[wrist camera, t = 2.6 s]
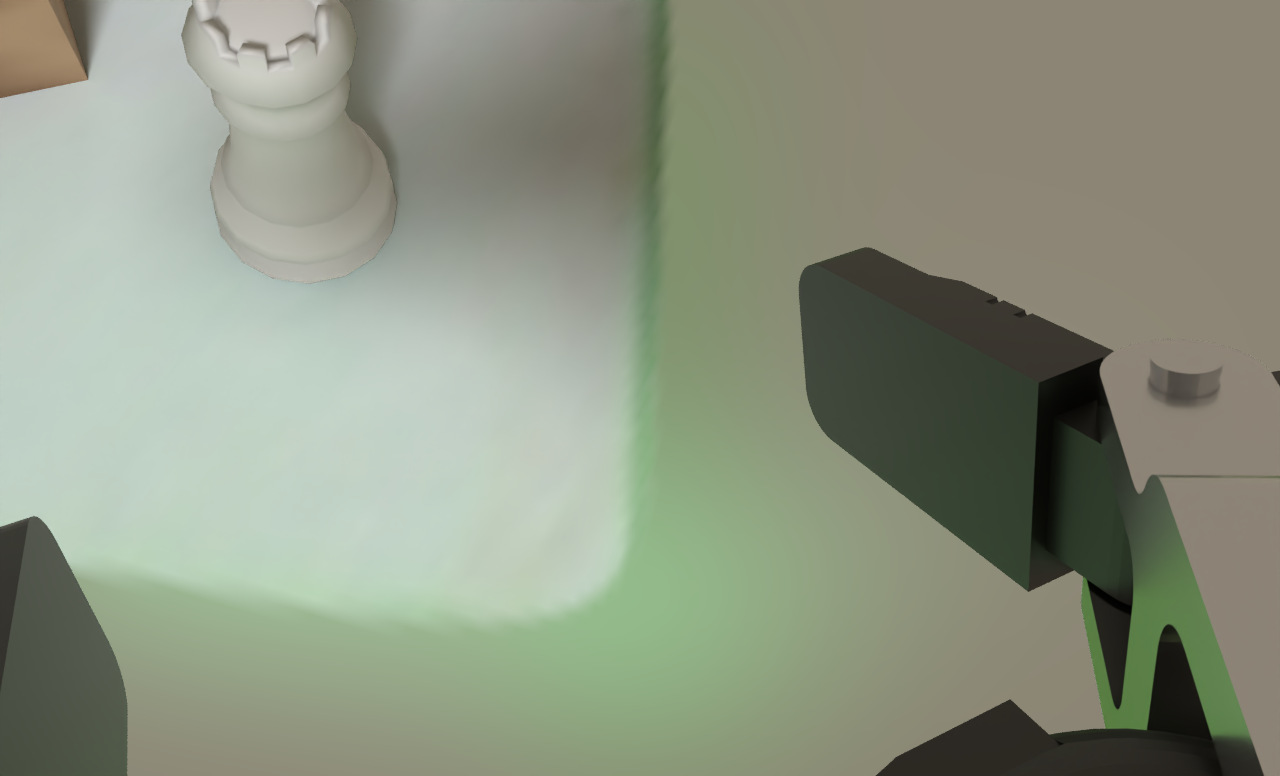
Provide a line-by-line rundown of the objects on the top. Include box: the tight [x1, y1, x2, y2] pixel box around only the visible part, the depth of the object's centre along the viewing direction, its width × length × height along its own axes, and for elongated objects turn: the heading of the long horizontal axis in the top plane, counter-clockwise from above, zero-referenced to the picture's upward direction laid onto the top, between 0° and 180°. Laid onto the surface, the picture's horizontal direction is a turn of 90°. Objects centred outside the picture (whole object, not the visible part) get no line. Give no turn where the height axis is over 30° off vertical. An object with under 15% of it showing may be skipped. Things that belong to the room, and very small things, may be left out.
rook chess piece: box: [181, 0, 397, 283], centre depth 23 cm, size 4×4×8 cm
